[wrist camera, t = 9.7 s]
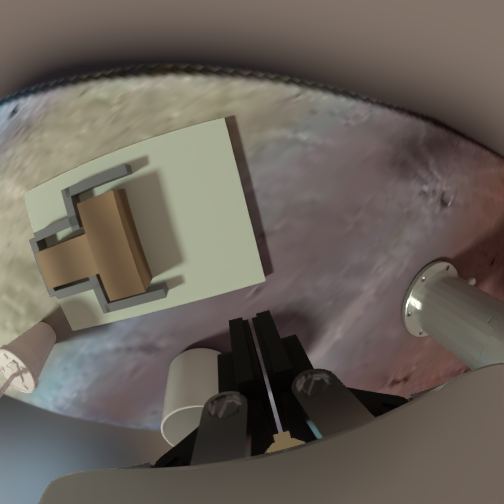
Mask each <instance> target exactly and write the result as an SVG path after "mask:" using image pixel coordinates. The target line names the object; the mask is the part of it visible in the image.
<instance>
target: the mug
mask: <svg viewBox="0 0 504 504" xmlns="http://www.w3.org/2000/svg"><path fill="white" fill-rule="evenodd" d="M218 354H222V353H221V352H218V351H216V350H213V349H208V348H195V349H190V350H187V351H185V352H182V353H181V354H179V355H178V356H177V357H176V358H175V359H174V360H173V361H172V363H171V365H170V367H169V371H168V377H167V384H166V391H165V398H164V405H163V413H162V421H161V432H162V435H163V437H164V438H165V440H166V441H167V442H168V443H170V444H171V445H172V446H173V447H174V446H175V445H177V444H178V443H179V442H180V441H182V440H183V439H184V438H185V437H186V436H188V435H189V434H190V433H191V432H192V431H193V430H195V429H196V428H197V427H198V426H199V423H200V419H201V414H202V410H203V407H204V405H205V403H206V402H207V401H208V399H210V398H211V397H212V396H214V395H216V394H219V393H218V364H217V355H218Z"/></svg>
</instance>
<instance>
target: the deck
mask: <svg viewBox="0 0 504 504" xmlns="http://www.w3.org/2000/svg"><path fill="white" fill-rule="evenodd" d="M124 188H125V191H126V194H127V198H128V202H129V205H130V209H131V212H132V216H133V219H134V223H135V226H136V229H137V232H138V236H139V239H140V242H141V245H142V248H143V251H144V254H145V257H146V260H147V263H148V266H149V269H150V272H151V275H152V277H153V278H152V280H151V282H150V284H149V286H148V288H147V290H146V292H144V293H140V294H136V295H132V296H129V297H125V298H121V299H117V300H113V301H110V299H109V297H108V295H107V292H106V290H105V287H104V285H103V282H102V280H101V277H100V274H96V275H92V276H89V277H86V278H83V279H79V280H76V281H73V282H70V283H67V284H63V285H60V286H57V287H54V288H51V289H48V287H47V285H46V282H45V280H44V277H43V275H42V272H41V269H40V267H39V264H38V261H37V258H36V255H35V254H36V253H37V252H39V251H41V250H43V249H45V248H47V247H49V246H51V245H53V244H56V243H59V242H61V241H64V240H66V239H69V238H71V237H74V236H77V235H79V234H82V233H85V230H84V227H83V224H82V220H81V217H80V214H79V210H78V206H77V204H78V203H80V202H83V201H85V200H88V199H90V198H93V197H95V196H98V195H100V194H103V193H106V192H108V191H111V190H116V189H124ZM24 198H25V203H26V207H27V211H28V215H29V218H30V222H31V226H32V229H33V232H34V236H35V238H32V239H30V240H29V241H30V244H31V247H32V250H33V253H34V256H35V259H36V262H37V265H38V268H39V270H40V273H41V276H42V278H43V281H44V283H45V286H46V288H47V291H48V293H49V295H50V297H53V296H57V299H58V301H59V303H60V305H61V307H62V310H63V312H64V314H65V316H66V318H67V320H68V322H69V324H70V326H71V328H72V330H73V331H76V330H80V329H85V328H89V327H93V326H98V325H102V324H106V323H110V322H114V321H119V320H123V319H127V318H131V317H135V316H139V315H143V314H147V313H151V312H155V311H159V310H163V309H166V308H170V307H174V306H178V305H182V304H185V303H189V302H193V301H197V300H200V299H204V298H208V297H211V296H215V295H219V294H222V293H226V292H229V291H233V290H236V289H240V288H243V287H247V286H250V285H254V284H257V283H261V282H264V281H265V277H264V273H263V269H262V265H261V261H260V257H259V253H258V249H257V245H256V241H255V237H254V233H253V229H252V225H251V221H250V217H249V213H248V209H247V205H246V201H245V197H244V193H243V189H242V185H241V181H240V177H239V173H238V169H237V166H236V162H235V158H234V154H233V150H232V146H231V142H230V138H229V134H228V130H227V127H226V123H225V119H224V118H221V119H217V120H212V121H208V122H204V123H201V124H197V125H193V126H190V127H186V128H182V129H179V130H176V131H172V132H169V133H166V134H162V135H159V136H156V137H153V138H150V139H147V140H144V141H141V142H138V143H136V144H133V145H130V146H127V147H125V148H122V149H119V150H117V151H114V152H111V153H109V154H106V155H104V156H101V157H99V158H97V159H94V160H92V161H89V162H87V163H85V164H83V165H80V166H78V167H76V168H74V169H71V170H69V171H67V172H65V173H63V174H61V175H59V176H57V177H55V178H53V179H51V180H49V181H47V182H45V183H43V184H41V185H39V186H37V187H35V188H33V189H32V190H30V191H28V192H26V193H24Z"/></svg>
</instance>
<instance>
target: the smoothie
mask: <svg viewBox="0 0 504 504" xmlns="http://www.w3.org/2000/svg"><path fill="white" fill-rule="evenodd" d="M55 342H56V334H55V332H54V330H53V328H52V327H51V326H50V325H48V324H47V323H45V322H39V323H38V324H36V325H35V326H33V327H32V328H30V329H29V330H27V331H26V332H25V333H23V334H22V335H20V336H19V337H18V338H16V339H15V340H13V341H12V342H10V343H9V344H8V345H3V346H1V347H0V373H1V374H2V376H3V377H4V378H5V380H6V382H5V383H4V385H3V386H2V387H1V389H0V397H1V396H2V394H3V393H4V392H5V390H6V389H7V388H8V386H9V385H11V386H13V387H14V388H15V389H17V390H19V391H21V392H24V393H31V392H33V391H34V389H35V388H36V387H37V385H38V377H39V375H40V373H41V371H42V368H43V366H44V364H45V362H46V360H47V358H48V356H49V354H50V352H51V350H52V348H53V346H54V344H55Z"/></svg>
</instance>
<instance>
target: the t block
mask: <svg viewBox="0 0 504 504" xmlns="http://www.w3.org/2000/svg"><path fill="white" fill-rule="evenodd" d="M77 206H78V210H79V214H80V217H81V220H82V224H83V227H84V230H85V233H82V234H79V235H77V236H74V237H71V238H69V239H66V240H64V241H61V242H59V243H56V244H53V245H51V246H49V247H47V248H45V249H43V250H41V251H39V252H37V253H36V254H35V255H36V258H37V261H38V264H39V267H40V269H41V272H42V275H43V277H44V280H45V282H46V285H47V287H48V289H51V288H54V287H57V286H60V285H63V284H67V283H70V282H73V281H76V280H79V279H83V278H86V277H89V276H92V275H96V274H100V277H101V280H102V282H103V285H104V287H105V290H106V292H107V295H108V297H109V299H110V301H113V300H117V299H121V298H125V297H129V296H132V295H136V294H140V293H144V292H146V290H147V288H148V286H149V284H150V282H151V280H152V278H153V277H152V275H151V272H150V269H149V266H148V263H147V260H146V257H145V254H144V251H143V248H142V245H141V242H140V239H139V236H138V232H137V229H136V226H135V223H134V219H133V216H132V212H131V209H130V205H129V202H128V198H127V194H126V191H125V188H124V189H116V190H111V191H108V192H106V193H103V194H100V195H98V196H95V197H93V198H90V199H88V200H85V201H83V202H80V203H78V204H77Z"/></svg>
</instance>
